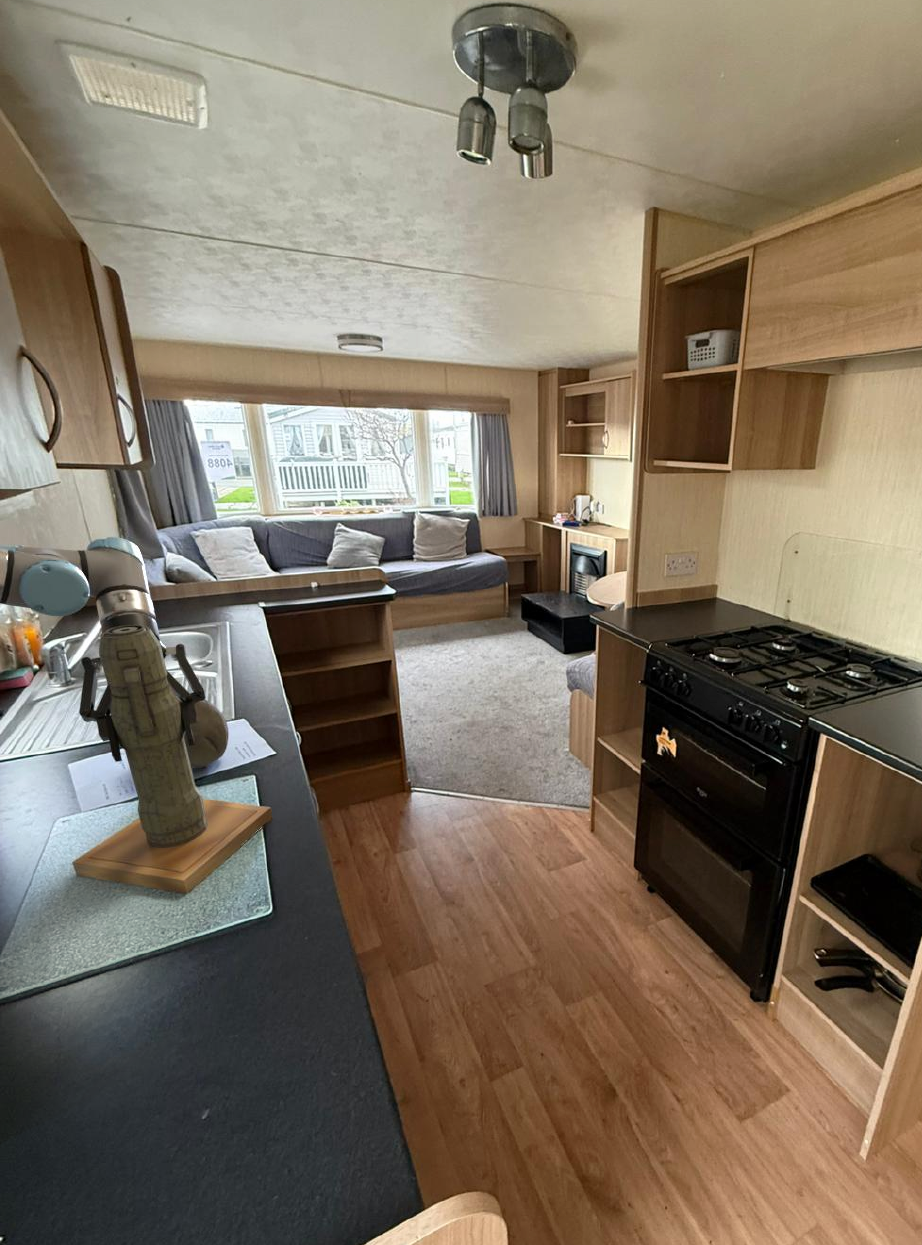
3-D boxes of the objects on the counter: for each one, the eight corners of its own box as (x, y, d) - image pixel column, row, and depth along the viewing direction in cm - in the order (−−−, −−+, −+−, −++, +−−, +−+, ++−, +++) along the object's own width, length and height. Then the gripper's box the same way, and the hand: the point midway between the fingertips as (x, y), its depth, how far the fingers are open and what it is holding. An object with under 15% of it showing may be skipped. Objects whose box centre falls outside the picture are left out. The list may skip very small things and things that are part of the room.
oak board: (76, 875, 95) (71, 861, 94) (176, 806, 113) (173, 794, 112) (187, 893, 91) (183, 879, 90) (272, 819, 110) (270, 806, 109)
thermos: (150, 860, 95) (88, 645, 82) (142, 824, 103) (86, 625, 91) (214, 839, 100) (165, 633, 87) (202, 807, 108) (156, 616, 96)
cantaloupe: (234, 744, 137) (221, 682, 131) (234, 773, 125) (219, 705, 119) (160, 757, 131) (143, 693, 125) (152, 789, 119) (133, 719, 113)
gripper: (37, 622, 91) (58, 760, 84) (202, 603, 102) (233, 724, 95) (51, 646, 97) (72, 777, 90) (206, 626, 108) (235, 741, 101)
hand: (155, 749), depth 93 cm, fingers closed on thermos, 9 cm apart
